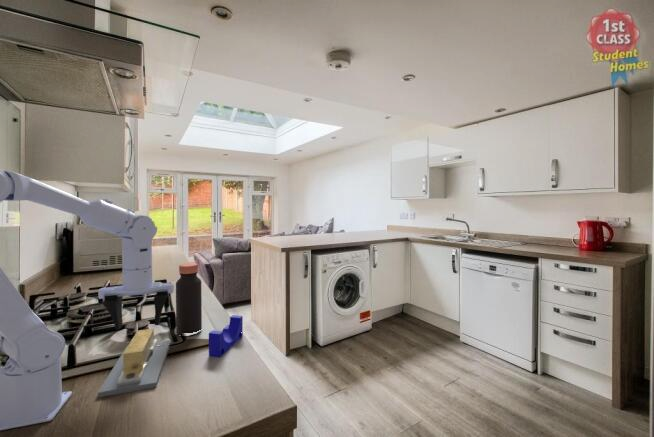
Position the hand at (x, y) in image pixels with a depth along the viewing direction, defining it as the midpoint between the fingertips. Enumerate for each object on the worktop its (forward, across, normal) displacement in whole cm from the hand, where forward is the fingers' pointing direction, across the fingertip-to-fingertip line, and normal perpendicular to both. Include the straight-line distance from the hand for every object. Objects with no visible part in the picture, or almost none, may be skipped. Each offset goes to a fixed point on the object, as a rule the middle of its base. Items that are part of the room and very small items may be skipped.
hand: (138, 325), depth 68 cm
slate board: (+10, 0, 0) cm, 10 cm away
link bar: (+7, 0, 0) cm, 7 cm away
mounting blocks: (+10, 0, 0) cm, 10 cm away
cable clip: (+10, -19, -4) cm, 22 cm away
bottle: (+10, -9, -16) cm, 21 cm away
